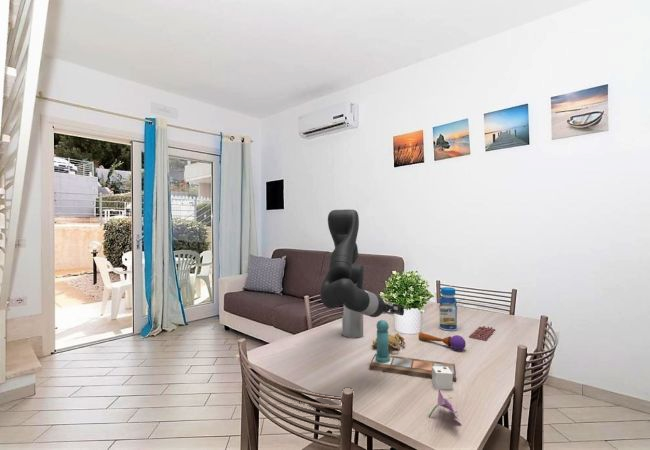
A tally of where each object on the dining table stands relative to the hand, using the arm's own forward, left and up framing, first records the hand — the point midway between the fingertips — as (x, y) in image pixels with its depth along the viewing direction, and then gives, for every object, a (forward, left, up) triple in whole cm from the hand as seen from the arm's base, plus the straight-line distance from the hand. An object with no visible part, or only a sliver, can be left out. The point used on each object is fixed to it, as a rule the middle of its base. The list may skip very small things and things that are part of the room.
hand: (391, 311), depth 116 cm
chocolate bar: (+35, +51, -21) cm, 65 cm away
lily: (+18, -27, -20) cm, 38 cm away
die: (+17, -8, -20) cm, 27 cm away
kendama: (+17, +29, -20) cm, 39 cm away
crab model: (-4, +19, -20) cm, 28 cm away
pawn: (-3, +1, -18) cm, 18 cm away
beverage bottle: (+20, +54, -20) cm, 61 cm away
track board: (+7, +1, -20) cm, 21 cm away
